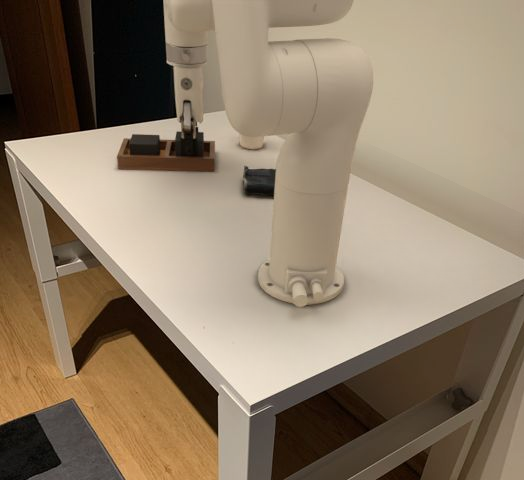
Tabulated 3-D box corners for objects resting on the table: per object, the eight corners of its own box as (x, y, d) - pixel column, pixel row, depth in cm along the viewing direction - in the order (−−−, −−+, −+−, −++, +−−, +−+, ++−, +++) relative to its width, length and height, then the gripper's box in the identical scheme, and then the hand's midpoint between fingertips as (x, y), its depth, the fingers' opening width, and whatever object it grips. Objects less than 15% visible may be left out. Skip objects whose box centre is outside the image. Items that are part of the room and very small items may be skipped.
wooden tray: (214, 171, 111) (214, 158, 110) (118, 169, 110) (116, 156, 108) (214, 153, 119) (214, 140, 117) (125, 150, 117) (123, 138, 116)
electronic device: (244, 207, 103) (325, 199, 102) (240, 176, 100) (324, 169, 99) (245, 192, 111) (320, 185, 110) (242, 164, 108) (319, 156, 107)
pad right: (203, 159, 112) (202, 141, 109) (175, 158, 111) (174, 140, 109) (203, 149, 116) (203, 132, 114) (177, 148, 115) (176, 131, 113)
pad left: (158, 161, 112) (157, 144, 109) (130, 161, 111) (128, 143, 109) (160, 151, 116) (159, 134, 114) (133, 151, 115) (132, 134, 113)
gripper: (206, 66, 96) (207, 169, 107) (208, 44, 109) (209, 138, 120) (162, 64, 95) (168, 168, 107) (169, 43, 108) (174, 137, 120)
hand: (190, 151), depth 113 cm, fingers closed on pad right, 5 cm apart
